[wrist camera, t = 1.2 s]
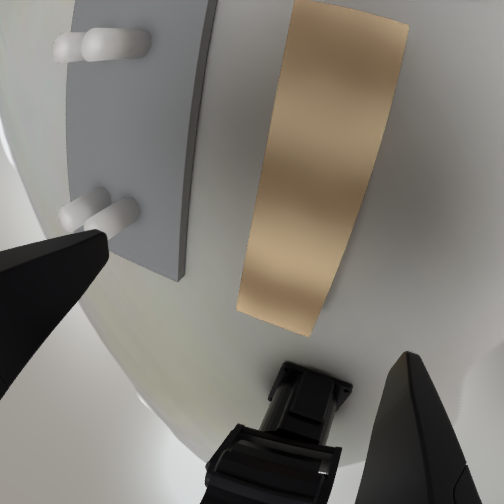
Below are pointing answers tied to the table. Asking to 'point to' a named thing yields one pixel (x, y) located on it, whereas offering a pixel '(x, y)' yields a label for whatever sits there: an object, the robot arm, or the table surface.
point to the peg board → (134, 123)
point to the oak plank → (318, 157)
